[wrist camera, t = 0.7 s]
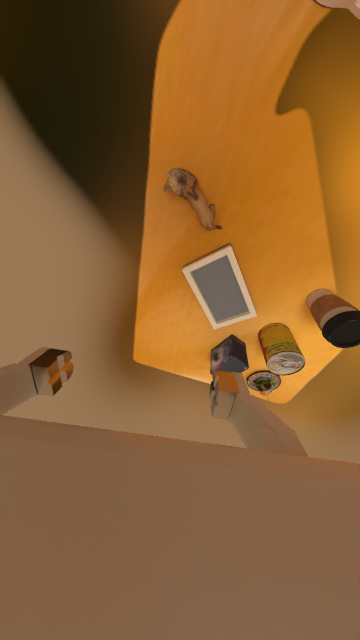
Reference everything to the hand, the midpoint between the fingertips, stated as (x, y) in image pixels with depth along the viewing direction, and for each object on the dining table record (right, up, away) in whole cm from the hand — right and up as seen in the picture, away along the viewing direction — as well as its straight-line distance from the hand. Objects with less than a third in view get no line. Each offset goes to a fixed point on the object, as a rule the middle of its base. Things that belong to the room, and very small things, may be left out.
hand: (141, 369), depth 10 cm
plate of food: (+34, -19, +60) cm, 71 cm away
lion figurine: (+6, +29, +30) cm, 42 cm away
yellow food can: (+31, -2, +47) cm, 56 cm away
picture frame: (+14, +11, +41) cm, 44 cm away
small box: (+18, -6, +53) cm, 56 cm away
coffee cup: (+39, +9, +38) cm, 55 cm away
